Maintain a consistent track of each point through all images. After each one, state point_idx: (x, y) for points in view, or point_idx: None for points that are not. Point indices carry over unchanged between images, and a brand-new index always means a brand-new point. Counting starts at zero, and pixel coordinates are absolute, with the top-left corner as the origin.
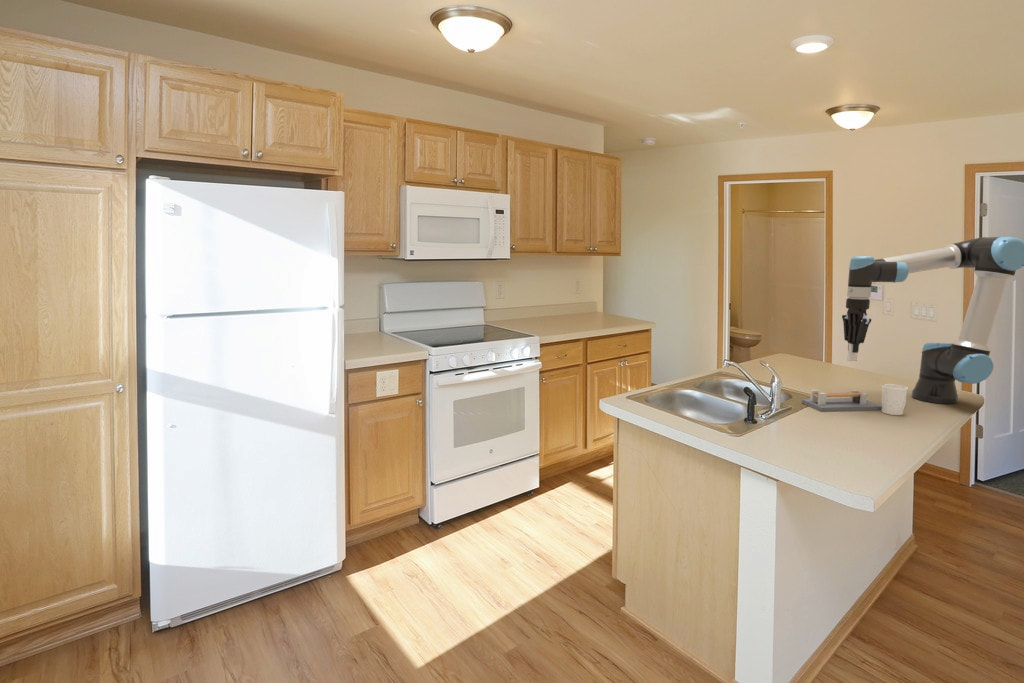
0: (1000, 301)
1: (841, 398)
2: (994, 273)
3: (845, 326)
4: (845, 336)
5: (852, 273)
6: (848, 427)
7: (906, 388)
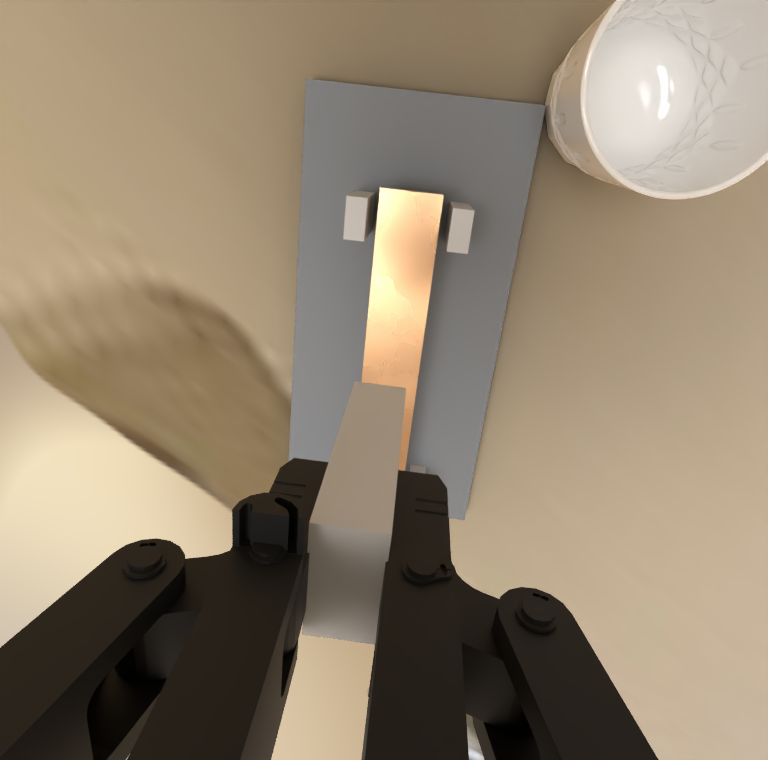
0: None
1: (299, 253)
2: None
3: None
4: (118, 720)
5: None
6: (722, 572)
7: None
